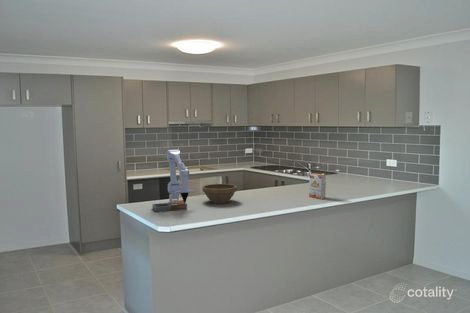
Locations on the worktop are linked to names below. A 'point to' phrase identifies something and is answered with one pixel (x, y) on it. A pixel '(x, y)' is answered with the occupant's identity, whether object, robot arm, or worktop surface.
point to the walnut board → (177, 206)
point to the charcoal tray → (161, 207)
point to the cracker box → (317, 186)
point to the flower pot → (219, 192)
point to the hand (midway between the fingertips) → (184, 202)
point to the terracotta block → (180, 201)
